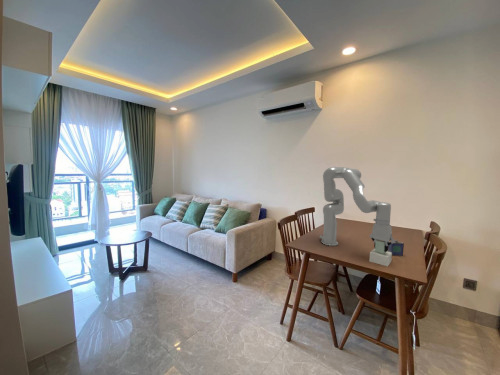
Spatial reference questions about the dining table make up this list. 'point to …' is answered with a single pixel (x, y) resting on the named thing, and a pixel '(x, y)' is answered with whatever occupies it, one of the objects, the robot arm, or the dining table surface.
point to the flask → (396, 248)
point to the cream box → (380, 257)
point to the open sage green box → (380, 246)
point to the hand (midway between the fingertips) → (381, 249)
